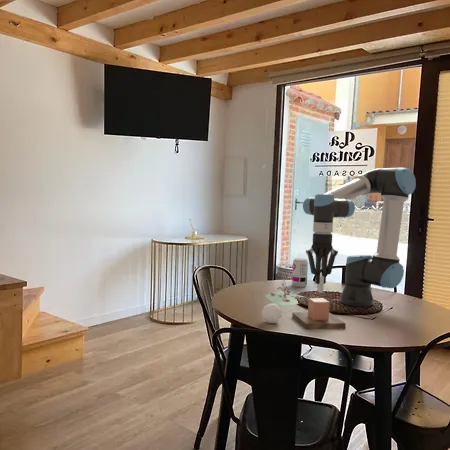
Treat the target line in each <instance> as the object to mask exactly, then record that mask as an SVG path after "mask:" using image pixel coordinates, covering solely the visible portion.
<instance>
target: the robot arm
mask: <svg viewBox="0 0 450 450" xmlns="http://www.w3.org/2000/svg"><path fill="white" fill-rule="evenodd" d="M416 181H417V180H416V177H415V174H414V173H413V171H412V170H411V169H410V168H407V167H386V168H385V167H384V168H383V167H380V168H374V169H371V170H368V171H366V172H364V173H361V174H359V175H356V176H355V177H354V178H353V180H351V181H349V182H347V183H345V184H343V185H340V186H338V187H336V188H334V189H332V190H329V191H327V192H325V193H316V194H314V197H313V196H312V197H307V198H305V199H304V201H303V203H302V210H303V212H304V214H306V215H310V216H313V221H312V222H313V223H312V224H313V225H312V232H313V233H312V244H311V246H310V247H311V248H309V249H306V250H305V253H306V256H307V257H308V259H307V260H308V265H309V269H310V273H311V274H312V275H315V280H314V281H315V284H316V285H317V286H316V288H317V289H316V291H317V293H319V294H320V293H324V287H325V285H326V282H327V281H326V280H327V276H329V275H331V274H332V270H333V267H334V263H335V259H336V256H338V253H339V251H338V250H336V249H334V247H333V245H332V244H333V234H332V233H333V226H334V218H344V219H345V218H349V217H351V216H353V215H354V213H355V209H356V205H355V203H354V202H353V199H356V198H357V197H359V196H367V195H368V194H380V197H381V198H382V200H383V204H382V211H381V219H380V225H379V227H380V228H379V233H378V239H377V246H376V252H375V253H374V254H372V255H370V254H357V255H349V256H347V257H346V262H345V276H344V277H345V278H344V279H345V280H344V287H343V289H342V291H341V295H340V298H339V299H340V303H342V304H343V305H347V306H352V307H363V306H364V307H372V306H373V305H374V297H373V294H372V291H371V285H372V286H377V287H382V288H385V289H394V288H397V287H398V286H399V284H401V282H402V280H403V277H404V273H405V272H404V271H405V269H404V266H403V265H402V264H401V262H400V258H399V256H398V248H399V241H400V234H401V226H402V218H403V211H404V205H405V204H404V203H405V202H406V201H407V200H408V199H409V195H411V194H413V193H414V192H415V190H416V187H417V186H416V185H417V184H416ZM313 254H314V255H315V260H314V256H313ZM328 257H329V259H328ZM371 305H372V306H371Z"/></svg>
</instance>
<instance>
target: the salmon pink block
mask: <svg viewBox="0 0 450 450" xmlns="http://www.w3.org/2000/svg"><path fill="white" fill-rule="evenodd" d="M307 304H308V307H307V312H308V316H309V317H310V318H312V319H313V320H329V312H330V301H328V299H325V298H323V297H322V298H321V297H314V298H313V297H310V298H308V303H307Z"/></svg>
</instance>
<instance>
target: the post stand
mask: <svg viewBox="0 0 450 450" xmlns="http://www.w3.org/2000/svg"><path fill="white" fill-rule="evenodd" d="M291 312H292V311H291ZM291 315H292V316H291V318H292V319H294V320H295V321H296V322H297V323H299V324H300V325H301V327H303V328H304V329H306V330H326V329H329V330H331V329H346V327H347V326H346V325H347V324H346V322H344V320H341V319H340V318H338V317H337V316H336V315H334V314H333V313H331V312H330V311H329V320H313V319H312V318H310V317H309V316H308V311H302V312H301V311H299V312H298V311H296V312H292V313H291Z"/></svg>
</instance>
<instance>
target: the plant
mask: <svg viewBox="0 0 450 450" xmlns="http://www.w3.org/2000/svg"><path fill="white" fill-rule="evenodd" d="M284 282H285V280H283V282H281V286H278V287H277V288H276V289H278V290H277V291H274V292H270V293H267V294H266V295H265V298H267V299H268V300H269V301H270V302H271V303H272V304H274V303H275V304H276V305H278V306H296V305H299V303H298V301H297V299H299V298H300V297H305V296H303V295H299V294H297V293H296V294H295V293H293V292H291V291H290V288H287V287H286V286H285V283H284Z"/></svg>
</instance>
